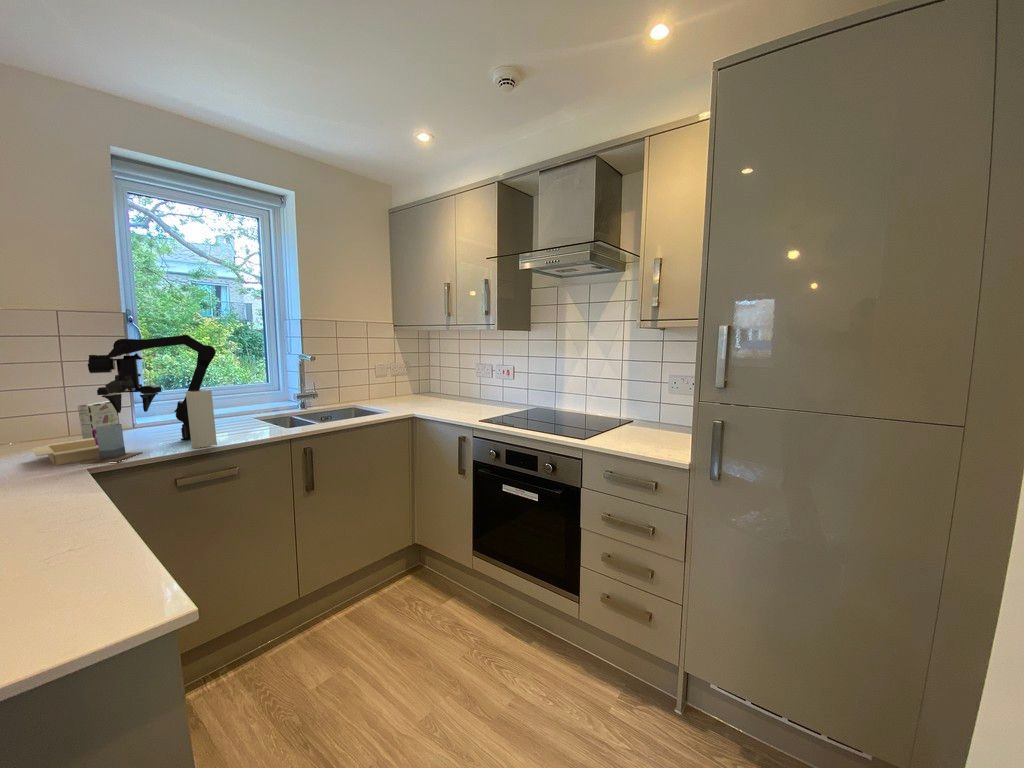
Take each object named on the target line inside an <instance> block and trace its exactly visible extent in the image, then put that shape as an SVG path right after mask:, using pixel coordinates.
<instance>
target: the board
mask: <svg viewBox="0 0 1024 768" xmlns="http://www.w3.org/2000/svg"><path fill="white" fill-rule="evenodd" d="M125 453H126V455H125V456H122V457H119V458H116V459H102V460H100V457H97V458H94V459H88V460H84V461H82V462H80V465H94V464H95V465H96V464H105V463H106V462H119V461H122V460H125V459H126V460H127V459H128V458H129V459H131V458H134V457H137V456H139V454H140V455H142V454H143V451H139V452H138V451H137V452H136V451H135V452H125ZM136 455H137V456H136ZM133 456H134V457H133ZM130 457H131V458H130Z"/></svg>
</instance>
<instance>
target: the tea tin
mask: <svg viewBox="0 0 1024 768" xmlns="http://www.w3.org/2000/svg"><path fill="white" fill-rule="evenodd" d="M96 432H97V439H98V445H97V446H98V447H99V456H100V460H102V459H116V458H119V457H122V456H125V455H126V453H127V452H126V447H125V441H124V434H123V425H122V423H120V424H110V425H104V426H100V427H96Z"/></svg>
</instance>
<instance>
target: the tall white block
mask: <svg viewBox="0 0 1024 768" xmlns="http://www.w3.org/2000/svg"><path fill="white" fill-rule="evenodd" d="M212 393H213V392H212V390H204V389H202V390H201V389H199V390H193V391H188V390H187V391H185V397H186V400H187V409H188V418H189V427H190V436H191V440H190V444H191V448H192V447H193V449H200V447H201V448H207V447H211V446H212V445H213V446H217V445H218V441H217V431H216V424H215V423H216V421H215V413H214V412H215V411H214V401H213V394H212Z"/></svg>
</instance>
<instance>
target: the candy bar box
mask: <svg viewBox="0 0 1024 768" xmlns="http://www.w3.org/2000/svg"><path fill="white" fill-rule="evenodd" d="M77 410H78V411H77V412H78V416H79V417H78V418H79V423H80V428H81V435H82V439H88V438H94V439H95V443H96V445H97V446H98V439H97V432H96V427H100V426H104V425H110V424H121V423H120V419H119V413H117V411H116V410H115V408H114V406H113V405H112V403H111V402H110V401H109V400H106V401H105V400H104V401H99V402H93V403H92V402H91V403H88V404H80V405H77Z"/></svg>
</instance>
